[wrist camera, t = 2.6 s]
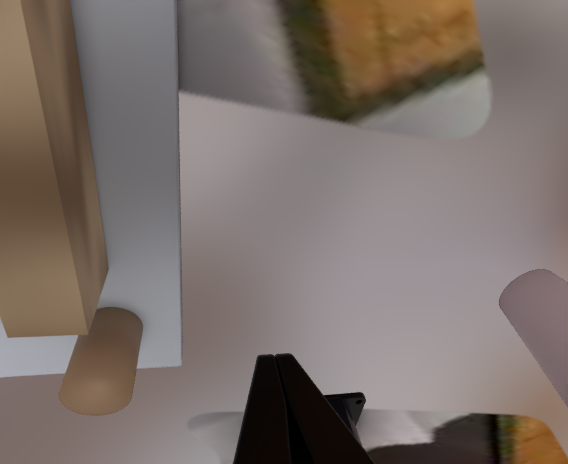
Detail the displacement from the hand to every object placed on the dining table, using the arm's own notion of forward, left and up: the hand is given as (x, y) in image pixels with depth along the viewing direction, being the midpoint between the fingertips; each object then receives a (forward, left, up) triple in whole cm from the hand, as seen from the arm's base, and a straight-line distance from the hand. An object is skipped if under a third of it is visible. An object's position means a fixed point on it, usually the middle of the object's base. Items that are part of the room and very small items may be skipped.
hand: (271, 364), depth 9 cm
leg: (+3, +7, -7) cm, 10 cm away
